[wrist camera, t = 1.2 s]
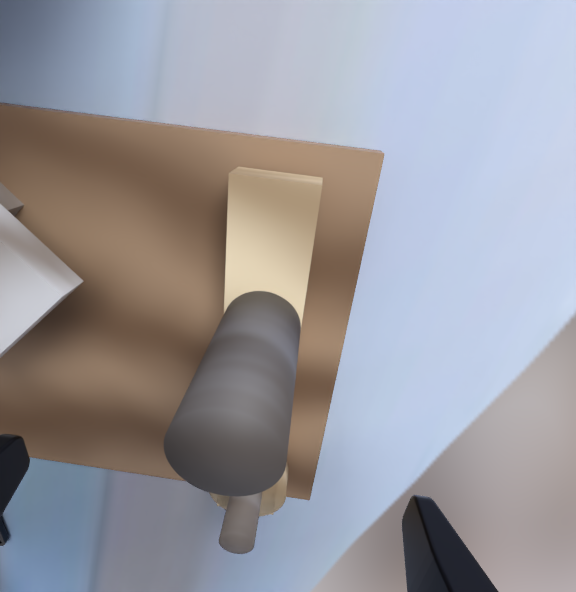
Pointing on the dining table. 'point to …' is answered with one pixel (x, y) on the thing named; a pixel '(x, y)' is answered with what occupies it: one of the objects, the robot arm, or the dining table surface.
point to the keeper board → (150, 279)
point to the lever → (250, 355)
